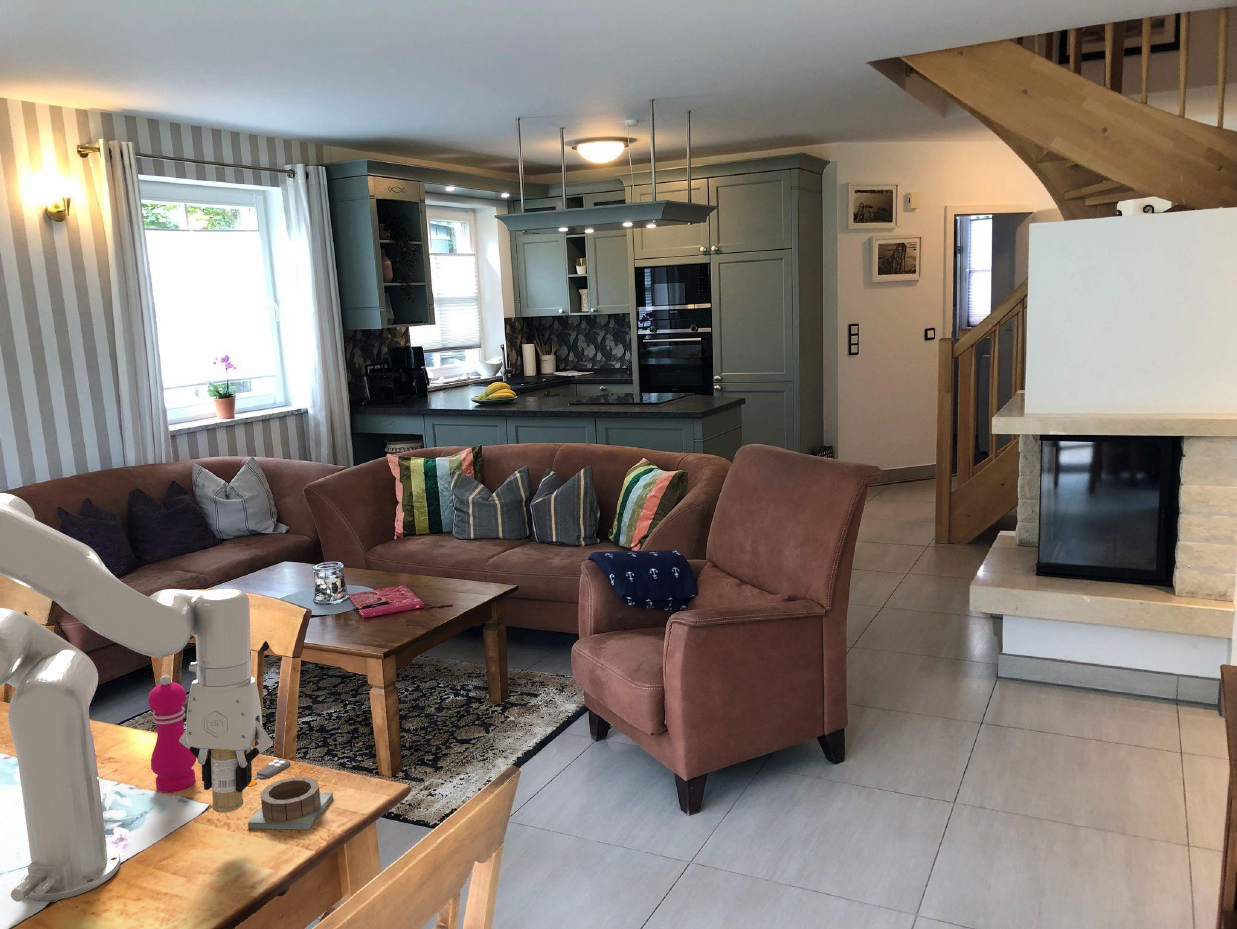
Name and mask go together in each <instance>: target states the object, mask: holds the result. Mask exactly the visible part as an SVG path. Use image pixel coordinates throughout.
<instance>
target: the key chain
mask: <svg viewBox="0 0 1237 929" xmlns="http://www.w3.org/2000/svg"><path fill="white" fill-rule="evenodd" d="M290 766H291V762H290V760H288V759H282V758H277V759H274V760H273V761H271V762H268V764H266V765H265V766H264V767H262V768H260V769H259V770H258V771H257V772H256V774H254V775H252V778H255V779H256V780H255V779H252V780H251V782H250V784H249V785H248V786H247V787H254V786H256V785H257V782H258V781H261V780H265V779H268V778H270V777H271V778H272V777H273V776H276V774H279V773H280V772H281V771H283V770H285V769H287V768H288V767H290ZM257 780H258V781H257Z"/></svg>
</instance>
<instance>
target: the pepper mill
mask: <svg viewBox="0 0 1237 929" xmlns="http://www.w3.org/2000/svg"><path fill="white" fill-rule="evenodd" d="M147 697H148V698H147V703H148V707H149V708H150V710H152V711H153V713H152V717H153V720H152V721H153V723H155V724H156V729H157V732H156V733H157V737H156V743H155V745H154V748H153V750H152V754H151V757H150V758H151V759H150V768H151V770H152V773H154V774H156V775H157V776H156V777H155V788H156V790H157V791H159V792H162V793H176V792H180V791H182V790H185V789H188V788H190V787H191V786H192V785H194V783H195V781H196V771H195V769H194V768H193V767H194V766H195V764H196V762H197V758H196V757H195V755H194V754H193V753H192V752H191V751H190V749H188V748H187V747H185V746H184V745H183V744H181V743H180V741H179V739H180V737H181V736H182V735H183V733H184V732H185V731H186V730H185V728H184V727H185V726H184V718H185V717H186V713H185V710H186V708H185V707H184V705H185V703H186V702H187V692H186V690H185V688H184V686H182V685H181V684H179V683H178V682H173V681H172V677H171V676H170V675H168V674H164V675H162V676H161V677H160V678H159V684H158V685H156V686H154V688H152V689H151V690H150V692H149V694H148V696H147Z"/></svg>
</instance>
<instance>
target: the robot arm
mask: <svg viewBox="0 0 1237 929" xmlns="http://www.w3.org/2000/svg"><path fill="white" fill-rule="evenodd" d="M0 576H2V577H5V578H6V579H8V580H11V581H12V582H15V583H17V584H20V585H22V586H23V587H26V588H28V589H29V590H32V591H34V592H36V593H38V594H40V595H43V596H44V597H45V598H48V599H50V600H52V601H54V602H55V603H56V604H57V605H59V606H60V607H61V608H62V609H63V610H64V611H66V612H67V613H69V615H71V616H72V617H74V618H76V619H77V620H78V621H79V622H81V623H82V624H83V625H85V626H87V627H88V628H89V629H90V630H92V631H94V633H95V632H96V633H97V634H98V635H100V636H102V637H104V638H106V639H109V640H110V641H112V642H113V643H117V644H118V645H121V646H123V647H124V648H125V647H126V648H127V649H129V650H131V651H134V652H136V653H139V654H141V655H143V656H147V657H153V658H166V657H171V656H173V655H175V654H177V653H179V652H180V651H181V650H182V649H184V648H185V647H186V645H187V644H188V642H189V641H190V638H191V637H194V638H195V649H196V650H195V651H196V652H195V654H196V655H195V656H196V661H195V662H190V664H189V666H188V671H189V672H192V673H195V678H196V679H195V680H193V681H192V682H191V685H190V689H189V695H188V701H187V707H186V708H187V710H186V720H185V723H186V725H185V726H186V728H185V730H184V731H185V732H184V733H183V735H182V736H181V737H180V739H179V741H180V743H181V744H183V745H184V746H185V747H187V748H188V749H190V751H191V752H192V753H193V754H194V755H195V757H196V760H197V763H198V764H199V765H201V781H202V783H203V790H205V791H208V790H211V789H212V776H211V749H213V750H228V751H236V754H237V758H238V762H239V765H238V766H237V767H236V791H237V792H242V793H243V791H244V790H245V789H246V788H248V787H249V786H248V785H249V784H250V782H251V780H252V778H253V777H252V776H253V771H252V768H253V766H252V762H253V760H254V759H255V758H256V757H258V756H259V755H261V754H262V753H263V752H266V751H267V750H268V749H269V748H271V747H272V746H273V744H274V742H273V740H272V738H271V737H270V736H269V734H268V733H267V731H266V730H265V729H264V727H263V718H262V717H263V716H262V706H261V700H260V693H259V689H258V685H257V684H258V683H257V682H256V678H255V677H252V658H251V655H252V654H251V652H252V651H251V618H250V617H251V614H250V613H251V612H250V610H251V609H250V608H251V607H250V599H249V596H248V594H247V593H246V592H245V591H243V590H242V589H241V590H240V589H235V588H219V589H218V588H217V589H211V590H208V591H206V590H205V591H203V590H202V591H200V590H188V589H179V588H170V589H169V588H168V589H162V590H159V591H156V592H154V593H152V594H151V595H149V596H147V595H145V594H143V593H142V592H140V591H137V590H136V589H134V588H132V587H131V586H129V585H127V584H126V583H125V582H122V581H121V580H120V579H119V578H118V577H117V576H115V575H114V573H112V572H111V570H109V569H108V567H106V565H105V563H104V561H102V559H101V558H100V556H99V555H98V552H96V551H95V550H94V549H93V548H92V547H90V546H89V545H87V544H85V543H84V542H81V541H79V540H77V539H75V538H73V537H70V536H69V535H67V534H64V533H63V532H60V531H59V530H57V529H54V528H53V527H51V526H50V525H47V524H45V523H42V522H41V521H40V520H37V519H36V516H35V513H34V511H33V508H32V507H31V506H30V504H28V503H27V502H26V501H25V500H23V499H22V498H21V497H18V496H16V495H14V494H10V493H5V492H2V493H1V492H0ZM98 683H99V673H98V669H97V667H96V665H95V663H94V662H93V660H92V659H91V658H90V657H89V656H88V655H87V654H86V653H85V652H83V651H82V650H81V649H79V648H78V647H76V646H75V645H73V644H72V643H70V642H69V641H67V640H65V639H64V638H63V637H61V636H60V635H57V634H56V633H54V632H53V631H52V630H50V629H49V628H47V627H45V626H44V625H42V624H41V623H40V622H38V621H37V620H35V619H34V618H32V617H30V616H28V615H26V614H24V613H23V612H20V611H17V610H14V609H10V608H4V607H0V687H2V686H4V685H5V684H8V685H10V686H11V687H13V688H14V689H15V690H14V692H13V693H12V696H11V698H10V701H9V702H10V703H9V706H8V710H7V711H8V714H7V715H8V716H7V718H8V719H7V721H8V728H9V731H10V736H11V739H12V743H13V746H14V750H15V755H16V760H17V765H18V766H17V767H18V772H19V773H18V774H19V779H20V786H21V792H22V800H23V808H24V817H25V825H26V830H27V842H28V849H29V855H30V861H31V862H30V863H29V864H28V865H27V872H26V873H25V874H24V875H23V877H22V878H21V882H20V884H19V885H17V886H16V887H15V888H14V889H13V890H11V892H10V897H11V899H12V901H15V902H16V903H18V902H22V901H24V900H25V899H26V898H29V899H31V900H35V901H55V900H56V901H59V900H63V899H67V898H72V897H74V896H78V895H81V894H83V893H86V892H89V891H91V890H93V889H95V888H97V887H99V886H100V885H103V884H104V883H105V882H106V881H108V880H110V879H111V878H112V877H113V876H114V875H115V874H116V873H117V871H118V870H119V868H120V866H121V856H120V853H119V852H118V850H116V849H115V848H113V847H109V846H107V837H106V830H105V829H106V828H105V821H104V812H103V811H104V810H103V805H102V804H103V803H102V796H101V795H102V794H101V786H100V779H99V778H100V776H99V769H98V768H99V767H98V763H97V754H96V747H95V741H94V737H93V732H92V728H91V727H92V726H91V723H90V722H91V721H90V704H91V702H92V700H93V697H94V695H95V694H96V690H97V688H98ZM254 741H257V743H258V744H257V745H255V746H254V747H253V744H254Z"/></svg>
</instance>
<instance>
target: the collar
mask: <svg viewBox="0 0 1237 929" xmlns="http://www.w3.org/2000/svg"><path fill="white" fill-rule="evenodd" d="M333 799H334V793H333V792H327V791H326V792H323V791H321V792H320V785H319V782H318V781H317V779H314V778H312V777H308V776H294V777H288V778H284V779H280V780H277V781H275V782H272V783H270V784H268V785H267V786H266V787H264V789H263V790H262V791H261V792H260V801H261V802H260V803H261V804H260V805H261V807H260V808H259V809H258V811H257V812H256V813H255V814H254V815H253V816H252V817H251V819H249V821H248V822H247V827H248V829H256V830H257V829H260V830H261V829H262V830H264V829H266V830H269V829H270V830H311V828H312V826H313V825H314V823H315V822H316V821H317V820H318V819H319V817H320V816H321V815H322V814H323V812H324V811H325V810H326V808H327V807H328V805H329V804H330V803H331V802H330V801H332V800H333ZM310 827H311V828H310Z"/></svg>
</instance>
